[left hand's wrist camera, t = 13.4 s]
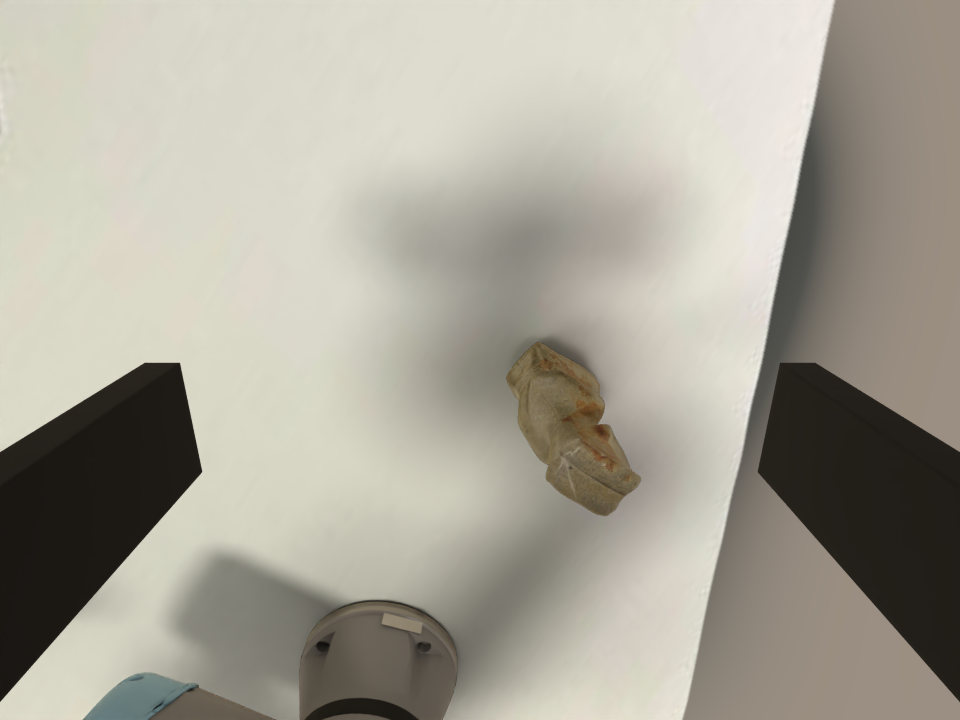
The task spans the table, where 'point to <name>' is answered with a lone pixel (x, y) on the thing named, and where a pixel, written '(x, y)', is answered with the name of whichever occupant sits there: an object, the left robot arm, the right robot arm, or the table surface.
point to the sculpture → (570, 429)
